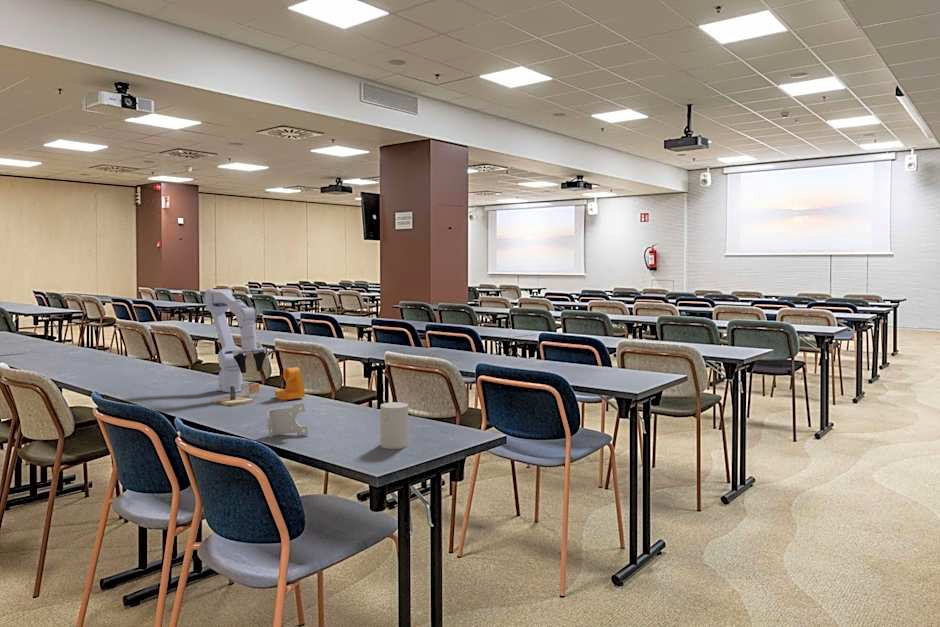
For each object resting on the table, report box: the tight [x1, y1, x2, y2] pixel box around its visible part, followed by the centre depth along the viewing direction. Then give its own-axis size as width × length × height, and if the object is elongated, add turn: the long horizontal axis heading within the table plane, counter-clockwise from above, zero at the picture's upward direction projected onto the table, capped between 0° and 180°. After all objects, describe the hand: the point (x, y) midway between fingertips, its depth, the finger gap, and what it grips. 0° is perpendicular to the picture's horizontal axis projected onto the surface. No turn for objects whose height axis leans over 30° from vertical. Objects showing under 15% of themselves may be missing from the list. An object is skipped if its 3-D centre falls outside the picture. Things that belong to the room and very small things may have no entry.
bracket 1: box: [274, 366, 306, 401], centre depth 275 cm, size 11×7×12 cm, turn 46°
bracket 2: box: [265, 402, 310, 438], centre depth 216 cm, size 11×4×10 cm, turn 82°
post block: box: [211, 386, 255, 407], centre depth 267 cm, size 12×10×6 cm
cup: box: [379, 401, 409, 450], centre depth 207 cm, size 8×8×12 cm
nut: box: [240, 381, 260, 399], centre depth 278 cm, size 5×5×5 cm
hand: (251, 372), depth 277 cm, fingers open, 7 cm apart
